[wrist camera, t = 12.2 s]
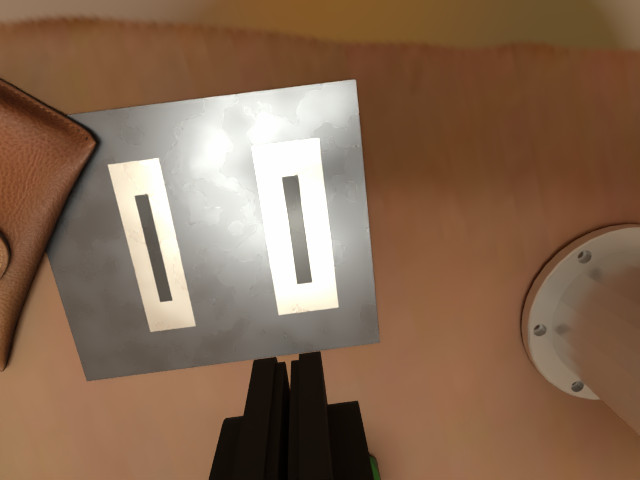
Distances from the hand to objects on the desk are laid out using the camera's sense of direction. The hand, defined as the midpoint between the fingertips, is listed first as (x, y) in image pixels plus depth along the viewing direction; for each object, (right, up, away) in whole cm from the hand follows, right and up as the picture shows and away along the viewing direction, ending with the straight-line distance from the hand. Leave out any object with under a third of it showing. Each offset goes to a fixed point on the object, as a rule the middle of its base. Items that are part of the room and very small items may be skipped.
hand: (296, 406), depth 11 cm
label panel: (-6, +4, +16) cm, 18 cm away
